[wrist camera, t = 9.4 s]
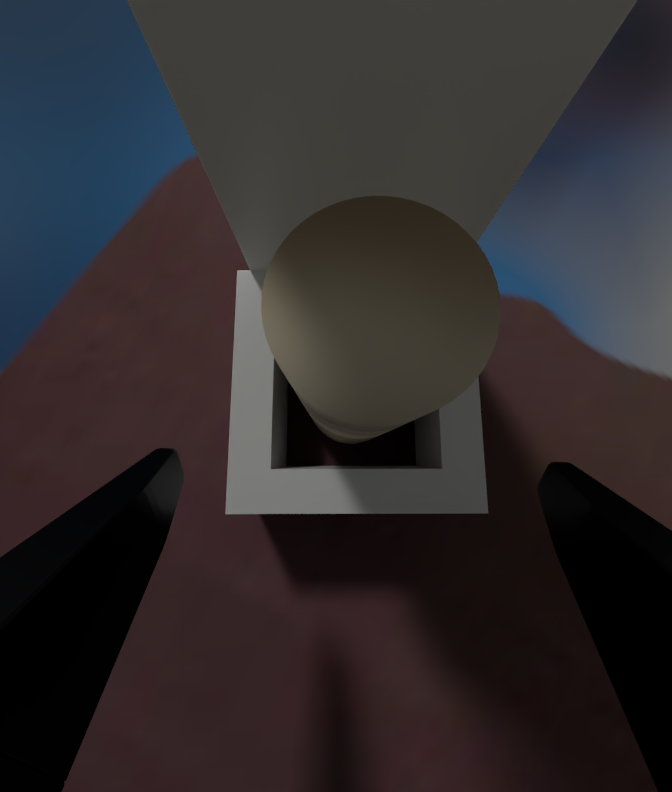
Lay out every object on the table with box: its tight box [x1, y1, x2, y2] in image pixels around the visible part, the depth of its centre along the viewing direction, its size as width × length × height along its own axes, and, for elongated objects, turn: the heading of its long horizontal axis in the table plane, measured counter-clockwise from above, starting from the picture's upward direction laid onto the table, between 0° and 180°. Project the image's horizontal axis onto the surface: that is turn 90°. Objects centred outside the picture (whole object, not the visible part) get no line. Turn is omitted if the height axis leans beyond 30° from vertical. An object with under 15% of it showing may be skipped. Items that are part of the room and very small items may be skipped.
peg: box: [261, 196, 501, 444], centre depth 11 cm, size 4×4×11 cm
